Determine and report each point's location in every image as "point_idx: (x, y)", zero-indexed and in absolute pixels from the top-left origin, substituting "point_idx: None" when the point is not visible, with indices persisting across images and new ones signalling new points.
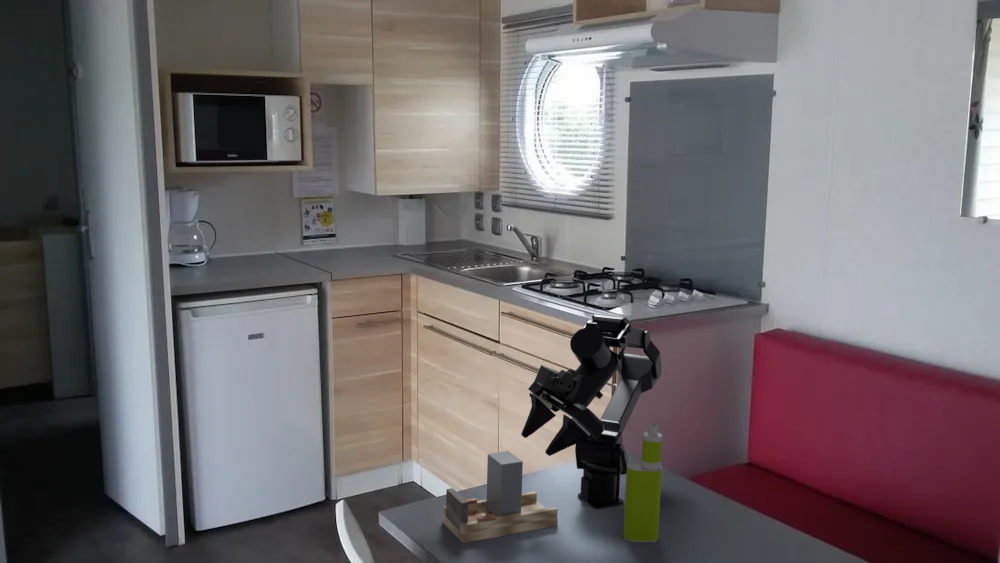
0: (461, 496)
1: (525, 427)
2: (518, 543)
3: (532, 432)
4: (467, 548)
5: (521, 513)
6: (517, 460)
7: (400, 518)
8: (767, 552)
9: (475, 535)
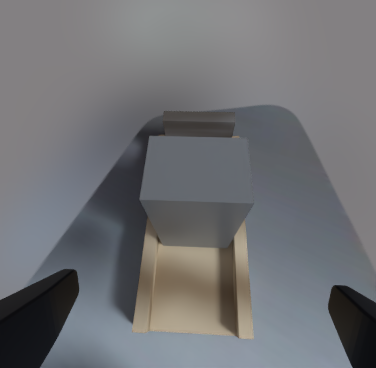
0: (191, 120)
1: (373, 312)
2: (117, 217)
3: (354, 365)
4: (144, 150)
5: (152, 238)
6: (156, 188)
7: (266, 114)
8: None
9: None
